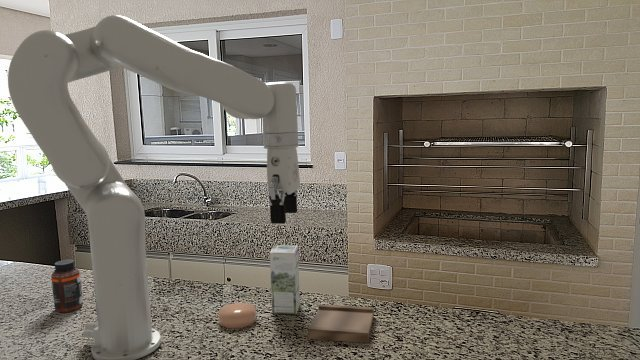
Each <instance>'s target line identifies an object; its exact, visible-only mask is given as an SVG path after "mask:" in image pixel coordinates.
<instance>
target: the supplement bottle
mask: <svg viewBox="0 0 640 360" xmlns="http://www.w3.org/2000/svg"><path fill="white" fill-rule="evenodd" d="M50 279H51V288H52V289H51V290H52V296H53V304H54V305H53V306H54V310H55V311H56V312H57V313H69V312H70V313H71V312H73V311H76V310H78V309H80V308H82V306H83V305H84V302H83V291H82V284H81V282H82V281H81V273H80V270H79V269H78V268H76V267H75V261H74V260H73V259H63V260H59V261H56V262H55V263H54V271H53V272H52V273H51V275H50Z"/></svg>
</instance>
